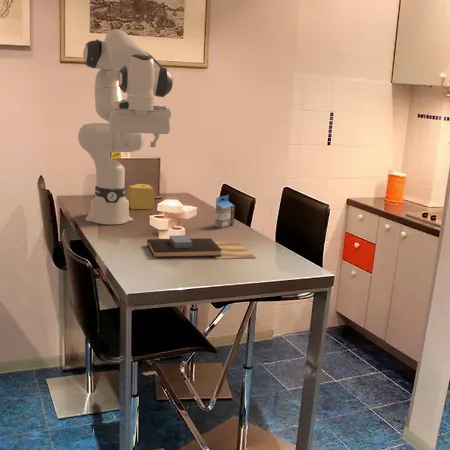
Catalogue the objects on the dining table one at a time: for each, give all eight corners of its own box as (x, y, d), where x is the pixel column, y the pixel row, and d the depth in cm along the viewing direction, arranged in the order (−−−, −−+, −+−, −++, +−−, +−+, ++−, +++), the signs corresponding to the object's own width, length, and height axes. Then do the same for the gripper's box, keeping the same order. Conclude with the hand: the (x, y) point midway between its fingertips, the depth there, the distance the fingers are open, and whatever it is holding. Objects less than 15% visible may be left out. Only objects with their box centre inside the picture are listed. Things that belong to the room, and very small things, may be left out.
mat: (201, 243, 222) (201, 242, 222) (237, 242, 226) (237, 241, 226) (216, 258, 203) (216, 258, 203) (255, 258, 208) (255, 257, 207)
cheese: (126, 204, 279) (127, 183, 276) (149, 205, 282) (150, 183, 280) (129, 209, 269) (130, 187, 267) (153, 209, 272) (154, 187, 270)
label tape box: (222, 228, 246) (224, 198, 244) (214, 226, 248) (216, 197, 246) (234, 225, 254) (236, 196, 251) (226, 223, 256) (228, 194, 253)
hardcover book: (221, 256, 205) (221, 250, 205) (154, 258, 199) (154, 251, 199) (210, 243, 220) (210, 237, 220) (147, 245, 214) (147, 238, 214)
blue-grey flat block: (169, 241, 212) (169, 235, 212) (186, 240, 214) (186, 235, 213) (174, 248, 204) (175, 242, 203) (192, 247, 206) (192, 242, 205)
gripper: (169, 106, 207) (167, 146, 210) (108, 102, 201) (107, 144, 204) (173, 106, 201) (171, 148, 204) (111, 103, 195) (110, 146, 198)
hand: (139, 146), depth 204 cm, fingers open, 8 cm apart
